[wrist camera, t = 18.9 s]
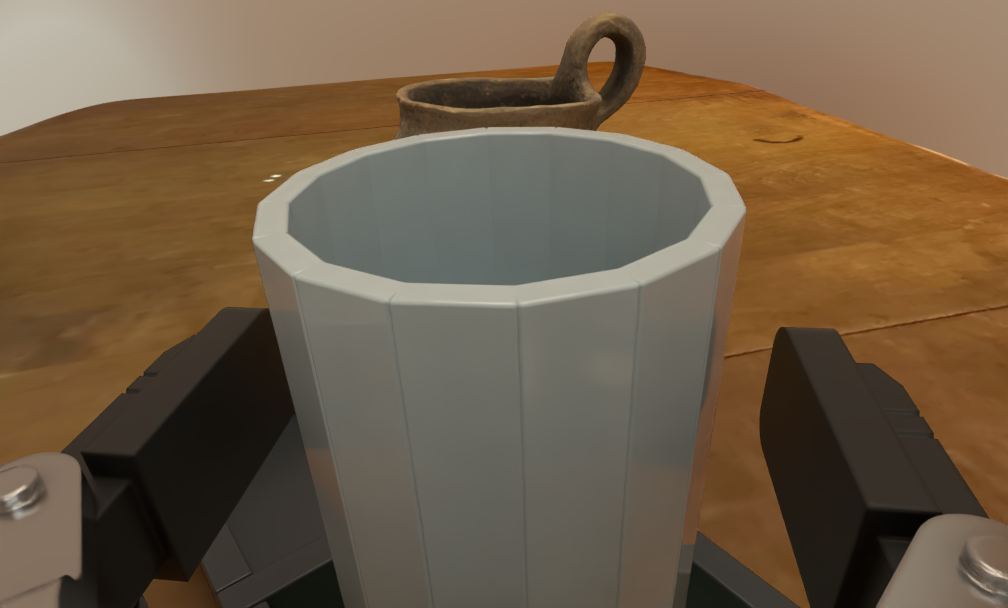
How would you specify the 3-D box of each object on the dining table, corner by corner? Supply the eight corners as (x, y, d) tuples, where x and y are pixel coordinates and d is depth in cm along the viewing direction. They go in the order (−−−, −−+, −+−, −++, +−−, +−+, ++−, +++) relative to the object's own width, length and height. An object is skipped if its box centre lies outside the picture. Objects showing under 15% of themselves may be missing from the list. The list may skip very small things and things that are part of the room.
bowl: (384, 161, 49) (366, 19, 45) (596, 134, 54) (600, 1, 49) (420, 228, 38) (400, 46, 33) (685, 186, 42) (703, 20, 37)
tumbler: (726, 704, 13) (845, 189, 8) (491, 951, 10) (417, 387, 5) (537, 524, 18) (528, 108, 12) (329, 661, 14) (190, 186, 9)
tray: (830, 740, 14) (863, 652, 12) (473, 1191, 9) (458, 1141, 7) (406, 369, 26) (397, 303, 24) (161, 477, 21) (131, 404, 20)
